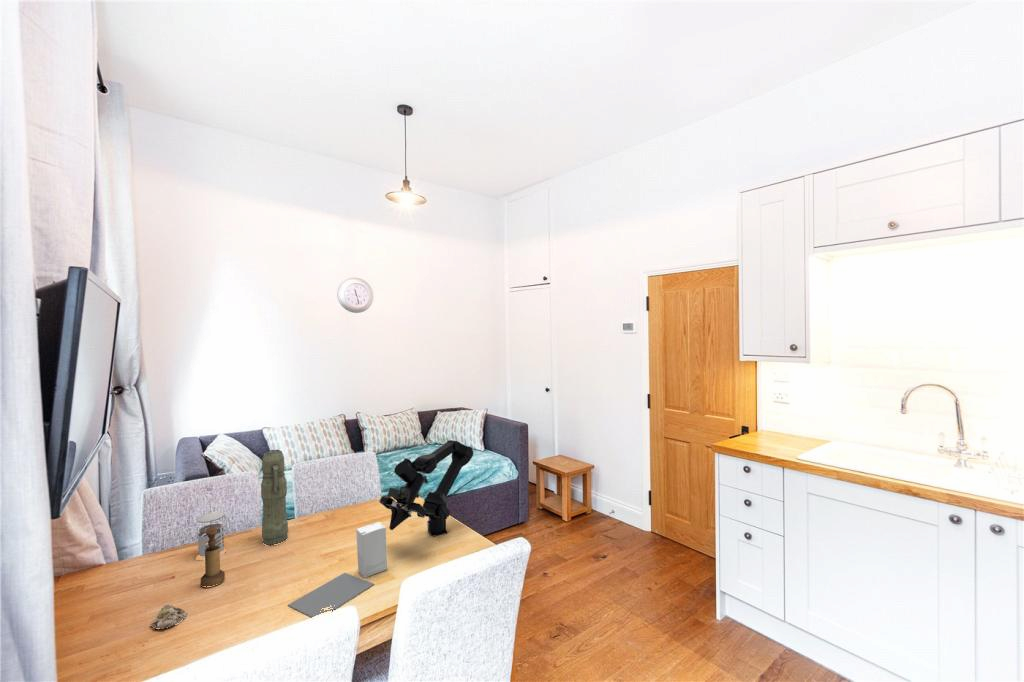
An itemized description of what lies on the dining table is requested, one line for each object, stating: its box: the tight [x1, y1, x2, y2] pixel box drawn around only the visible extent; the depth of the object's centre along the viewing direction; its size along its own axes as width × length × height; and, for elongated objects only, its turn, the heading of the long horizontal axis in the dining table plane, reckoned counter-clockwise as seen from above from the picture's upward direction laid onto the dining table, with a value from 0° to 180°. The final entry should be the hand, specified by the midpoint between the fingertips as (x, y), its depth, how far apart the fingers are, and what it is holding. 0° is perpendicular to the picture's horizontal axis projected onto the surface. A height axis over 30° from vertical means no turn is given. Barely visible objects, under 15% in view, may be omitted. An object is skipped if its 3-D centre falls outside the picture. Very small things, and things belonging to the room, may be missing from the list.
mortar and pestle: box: [200, 527, 226, 587], centre depth 141 cm, size 7×6×18 cm
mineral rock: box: [149, 604, 188, 630], centre depth 123 cm, size 11×4×8 cm
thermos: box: [260, 449, 289, 546], centre depth 170 cm, size 9×12×35 cm
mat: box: [287, 572, 375, 618], centre depth 133 cm, size 20×14×1 cm
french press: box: [196, 485, 231, 556], centre depth 162 cm, size 10×12×25 cm
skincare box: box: [355, 521, 388, 579], centre depth 146 cm, size 8×6×15 cm
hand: (390, 529), depth 154 cm, fingers closed
